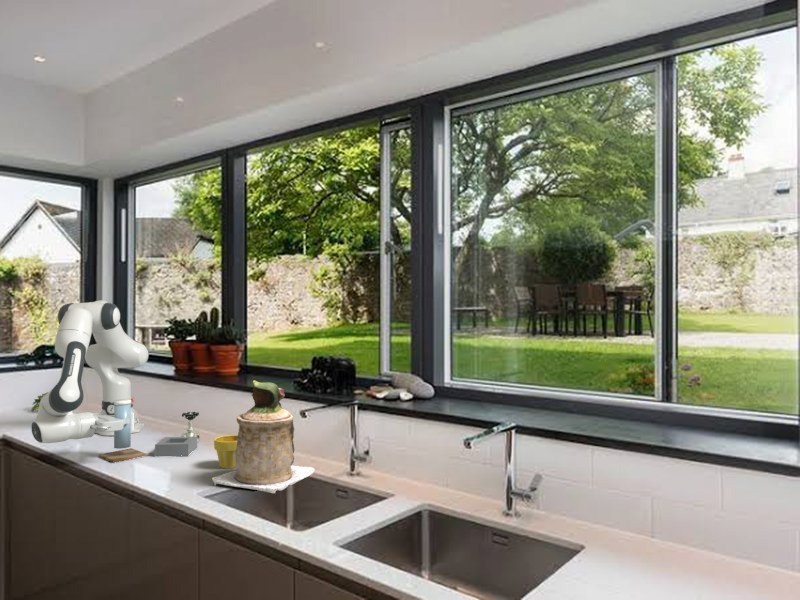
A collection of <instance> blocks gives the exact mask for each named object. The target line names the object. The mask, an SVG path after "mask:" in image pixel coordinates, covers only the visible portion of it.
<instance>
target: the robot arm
mask: <svg viewBox="0 0 800 600" xmlns="http://www.w3.org/2000/svg"><path fill="white" fill-rule="evenodd" d="M120 320H121V312H120V309H119V307H118V306H117V305H116V304H115V303H110V302H108V301H106V300H104V299H103V300H95V301H90V302H78V303H73V302H71V303H65V304H63V305H62V306H61V307H60V308H59V310H58V313H57V322H58V323H59V326H58V329H57V332H56V335H55V339H54V351H55V352H56V354H57V355H58V356H59V357H60V358H63V363H62V368H61V373H60V378H59V381H58V382H57V383H56V384H55V385H54V387H53V388H52V389H50V390H49V391H47V392H48V393H47V392H46V393H47V394H46V395H44V396H43V398H42V399H41V400H40V403H39V408H38V409H37V410H38V411H37V415H36V417H35V418H34V420H33V421H32V423H31V434H32V436H33V438H34V439H35V441H36V442H38V443H39V444H56V443H61V442H62V443H63V442H66V441H68V440H80V439H87V438H92V437H94V434H98V435H100V436H105V437H107V436H108V437H109V436H114V431H120V430H122V429H123V425H124V424H128V423H130V419H129V418H124V419H118V418H115V417H114V401H115V400H121V399H130V400H131V434H133V433H140V432H141V431H142V430H143V428H144V427H145V423H142V422H140V419H139V413H138V412H137V410H135V409H134V404H133V403H135V398H133V397H132V382H131V381H130V380H129V378H128V377H126V376H124V375H122V374H121V373H120V372H119V369H134V368H138V367H143V366H144V365H146V363H147V362H148V360H149V351H148V348H147V346H146V345H145V344H143V343H140V342H137V341H136V340H134V339H133V338H131V337H130V336H129V335H128V334H127V333H126V332H125V331H124V329H123V327H122V325H121V322H120ZM92 335H93V338H94V341H95V342H96V343H95V344H90V342H91V337H92ZM85 362H86V364H87V365H88V366H89V367H90V368H92V369H93V370H94V371H95V372H96V374H97V375H98V376H99V378H100V381H101V384H102V401H101V412H95V413H94V412H93V413H92V411H85V412H76V413H73V411H75V410H76V409H78V408H79V407H80V406H82V405H81V404H82V403H83V401H84V390H83V385H82V378H83V373H84V372H83V371H84V365H85Z"/></svg>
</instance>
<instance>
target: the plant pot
mask: <svg viewBox="0 0 800 600" xmlns="http://www.w3.org/2000/svg"><path fill="white" fill-rule="evenodd" d="M237 437H238V434H228V435H227V434H226V435H221V436H218V437H215V438H214V439H213V444H214V450H215V451H216V455H217V459H218V464H219V467H220V468H222V469H234V468H236V460H235V451H236V447H237Z"/></svg>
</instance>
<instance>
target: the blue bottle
mask: <svg viewBox="0 0 800 600" xmlns="http://www.w3.org/2000/svg"><path fill="white" fill-rule="evenodd" d="M114 417H115V418H118V419H124V418H129V419H130V423H128V424H124V425H123V429H122V430H120V431H114V435H113V448H114V449H116V450H117V449H119V450H122V449H129V448H131V445H132V444H131V442H132V441H131V435H132V433H131V400H130V399H121V400H115V401H114Z"/></svg>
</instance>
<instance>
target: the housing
mask: <svg viewBox="0 0 800 600" xmlns="http://www.w3.org/2000/svg"><path fill="white" fill-rule="evenodd" d="M196 448H197V449H198V443H197V437H181V436H165V437H164V438H162V439H161V440H160V441H158V442H157V443H155V444H154V457H155V456H176V457H189V456H190V455H191V454H192V453H193V452H192V451H194V450H195V449H196ZM197 449H196V450H197ZM196 450H195V451H196ZM195 451H194V452H195ZM191 452H192V453H191ZM190 453H191V454H190ZM189 454H190V455H189ZM181 455H182V456H181ZM188 455H189V456H188Z"/></svg>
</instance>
